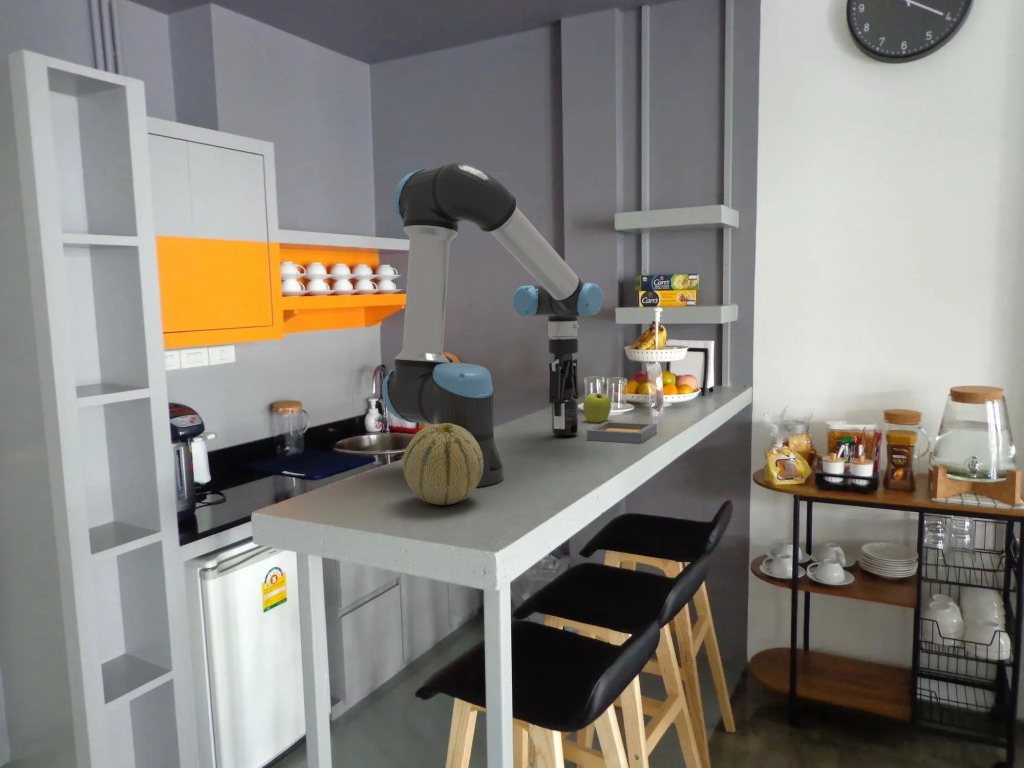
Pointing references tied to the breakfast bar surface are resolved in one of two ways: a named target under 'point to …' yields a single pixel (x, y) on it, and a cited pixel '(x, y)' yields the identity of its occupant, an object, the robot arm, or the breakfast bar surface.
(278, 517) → the breakfast bar surface
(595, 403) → the apple
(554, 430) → the supplement bottle
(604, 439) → the grey square tray
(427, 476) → the cantaloupe
